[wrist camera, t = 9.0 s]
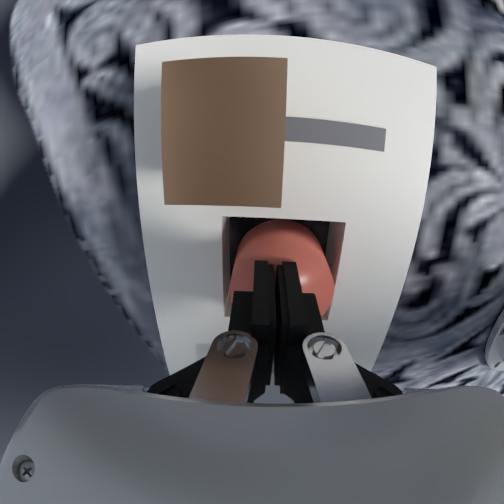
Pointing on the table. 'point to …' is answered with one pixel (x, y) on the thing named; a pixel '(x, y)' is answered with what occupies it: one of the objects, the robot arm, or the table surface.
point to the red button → (284, 258)
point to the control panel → (297, 187)
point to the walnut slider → (223, 131)
